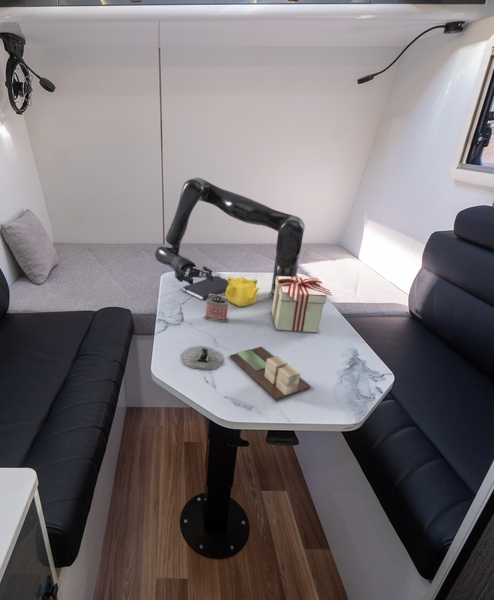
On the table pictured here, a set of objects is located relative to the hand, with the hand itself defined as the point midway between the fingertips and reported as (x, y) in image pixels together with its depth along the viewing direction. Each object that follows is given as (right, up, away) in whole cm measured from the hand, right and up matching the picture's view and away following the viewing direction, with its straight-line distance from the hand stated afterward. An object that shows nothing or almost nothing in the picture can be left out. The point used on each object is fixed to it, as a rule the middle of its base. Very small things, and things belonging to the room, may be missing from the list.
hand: (202, 280), depth 142 cm
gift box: (+34, -16, -6) cm, 38 cm away
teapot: (+16, -9, +9) cm, 21 cm away
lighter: (+5, -15, -4) cm, 16 cm away
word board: (+17, -29, -33) cm, 47 cm away
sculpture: (-2, -26, -27) cm, 37 cm away
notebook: (+4, -3, +21) cm, 22 cm away
